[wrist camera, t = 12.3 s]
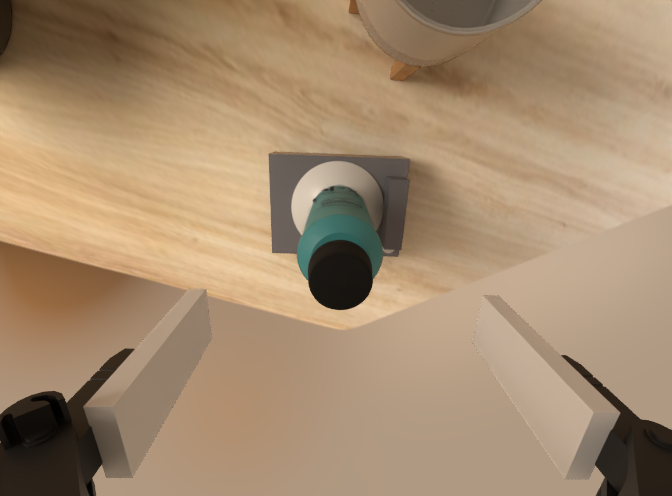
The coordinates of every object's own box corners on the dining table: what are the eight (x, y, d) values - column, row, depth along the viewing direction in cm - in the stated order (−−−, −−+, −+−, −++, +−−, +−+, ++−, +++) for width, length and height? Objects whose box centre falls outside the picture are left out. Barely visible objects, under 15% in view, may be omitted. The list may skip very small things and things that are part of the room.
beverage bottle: (369, 228, 38) (406, 320, 19) (317, 239, 38) (302, 340, 19) (359, 175, 36) (389, 219, 17) (303, 188, 36) (271, 245, 17)
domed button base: (277, 242, 43) (267, 262, 36) (274, 151, 39) (263, 155, 32) (392, 245, 43) (403, 265, 37) (401, 156, 39) (416, 161, 33)
